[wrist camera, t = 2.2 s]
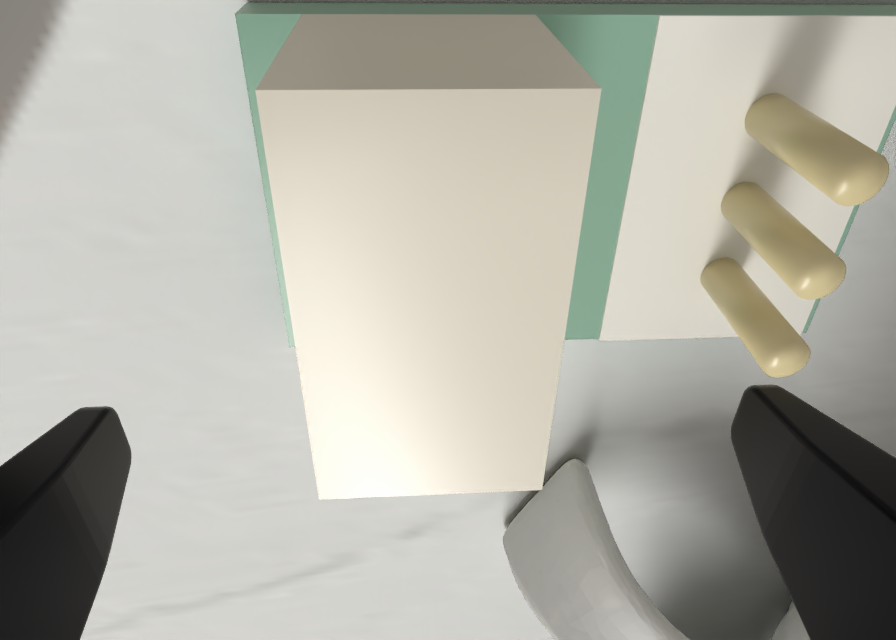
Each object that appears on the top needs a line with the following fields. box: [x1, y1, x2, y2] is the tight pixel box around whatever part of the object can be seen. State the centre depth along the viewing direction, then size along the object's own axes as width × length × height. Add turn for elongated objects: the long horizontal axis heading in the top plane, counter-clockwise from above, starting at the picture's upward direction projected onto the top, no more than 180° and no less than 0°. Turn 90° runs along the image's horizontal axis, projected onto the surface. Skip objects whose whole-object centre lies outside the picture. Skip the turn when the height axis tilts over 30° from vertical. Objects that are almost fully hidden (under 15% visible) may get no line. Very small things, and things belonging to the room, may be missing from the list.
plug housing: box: [255, 14, 602, 500], centre depth 13 cm, size 4×8×5 cm, turn 179°
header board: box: [235, 2, 896, 378], centre depth 14 cm, size 14×8×5 cm, turn 89°
